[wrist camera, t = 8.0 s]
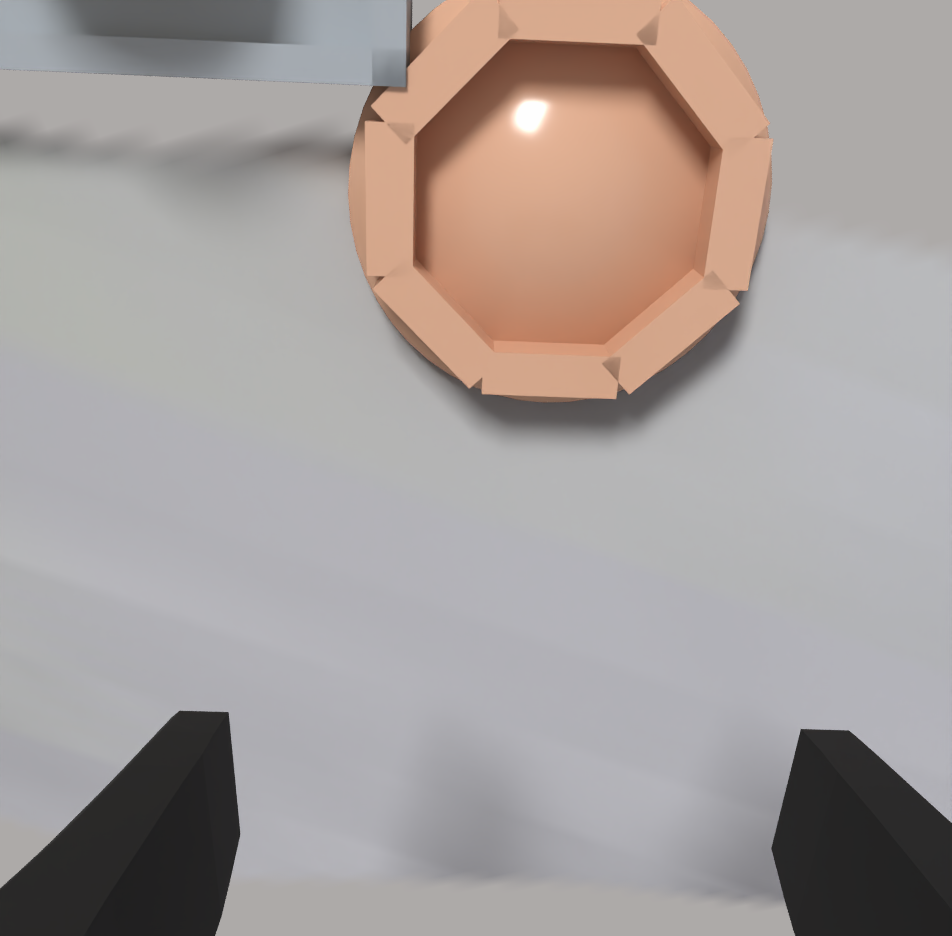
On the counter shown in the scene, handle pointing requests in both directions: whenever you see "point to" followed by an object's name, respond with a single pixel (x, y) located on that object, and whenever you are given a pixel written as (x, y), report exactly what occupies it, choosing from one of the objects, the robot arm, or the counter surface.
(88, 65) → the tray
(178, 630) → the counter surface
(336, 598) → the counter surface
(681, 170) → the dish
